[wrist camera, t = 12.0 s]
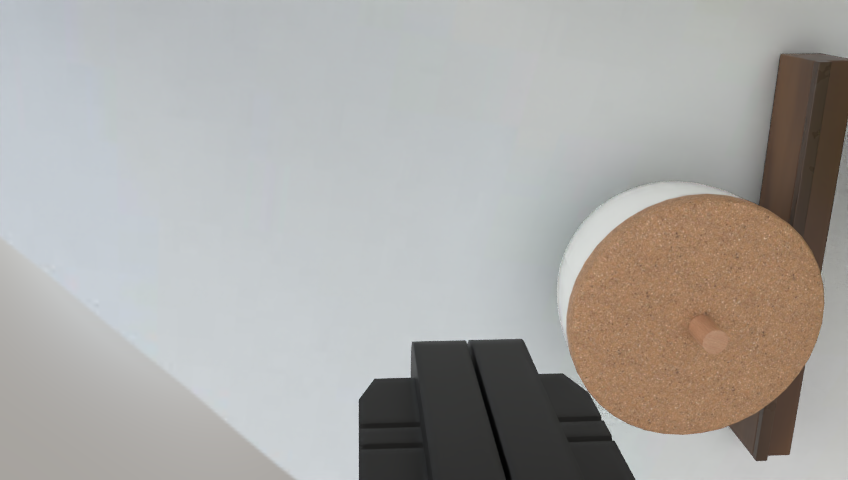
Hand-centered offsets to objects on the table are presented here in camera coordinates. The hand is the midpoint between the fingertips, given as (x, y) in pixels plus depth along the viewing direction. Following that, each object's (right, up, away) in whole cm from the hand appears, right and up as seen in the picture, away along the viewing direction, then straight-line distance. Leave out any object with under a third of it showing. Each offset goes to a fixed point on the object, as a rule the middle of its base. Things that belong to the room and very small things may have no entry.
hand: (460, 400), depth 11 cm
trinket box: (+10, +1, +29) cm, 31 cm away
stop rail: (+17, +2, +29) cm, 34 cm away
